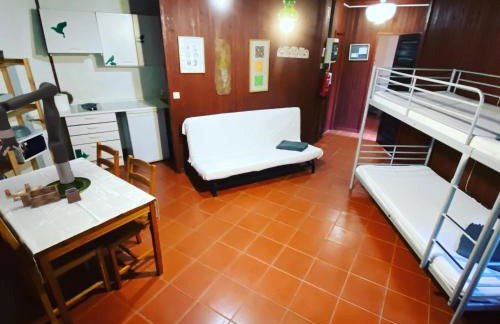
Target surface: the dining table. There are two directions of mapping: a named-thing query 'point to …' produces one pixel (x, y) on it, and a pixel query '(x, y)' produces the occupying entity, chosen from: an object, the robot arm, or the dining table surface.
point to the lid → (27, 190)
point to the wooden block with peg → (9, 195)
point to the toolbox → (41, 196)
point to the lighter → (72, 195)
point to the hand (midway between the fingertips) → (15, 158)
